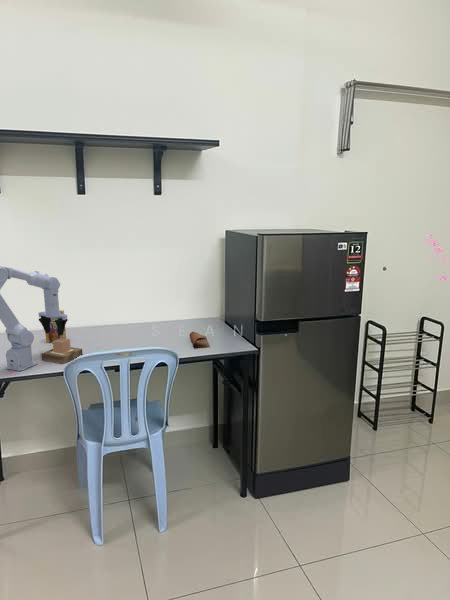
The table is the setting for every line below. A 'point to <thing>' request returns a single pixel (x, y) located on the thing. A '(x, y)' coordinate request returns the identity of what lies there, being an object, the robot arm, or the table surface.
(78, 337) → the table surface
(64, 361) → the plinth
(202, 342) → the sunglasses case
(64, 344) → the cube
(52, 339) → the candy box
